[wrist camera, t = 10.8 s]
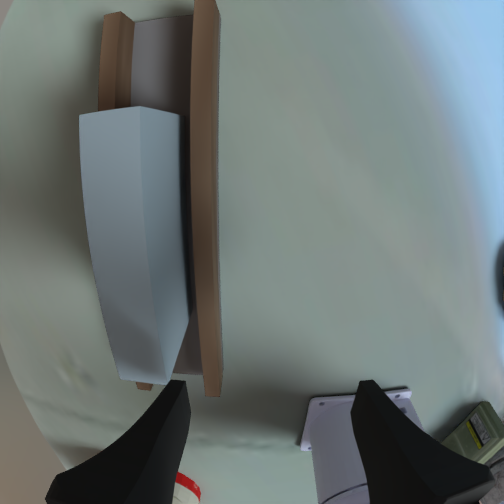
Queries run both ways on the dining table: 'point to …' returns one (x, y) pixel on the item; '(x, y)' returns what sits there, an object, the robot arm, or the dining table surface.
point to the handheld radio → (477, 434)
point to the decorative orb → (496, 478)
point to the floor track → (196, 148)
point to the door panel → (138, 234)
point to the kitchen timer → (185, 491)
